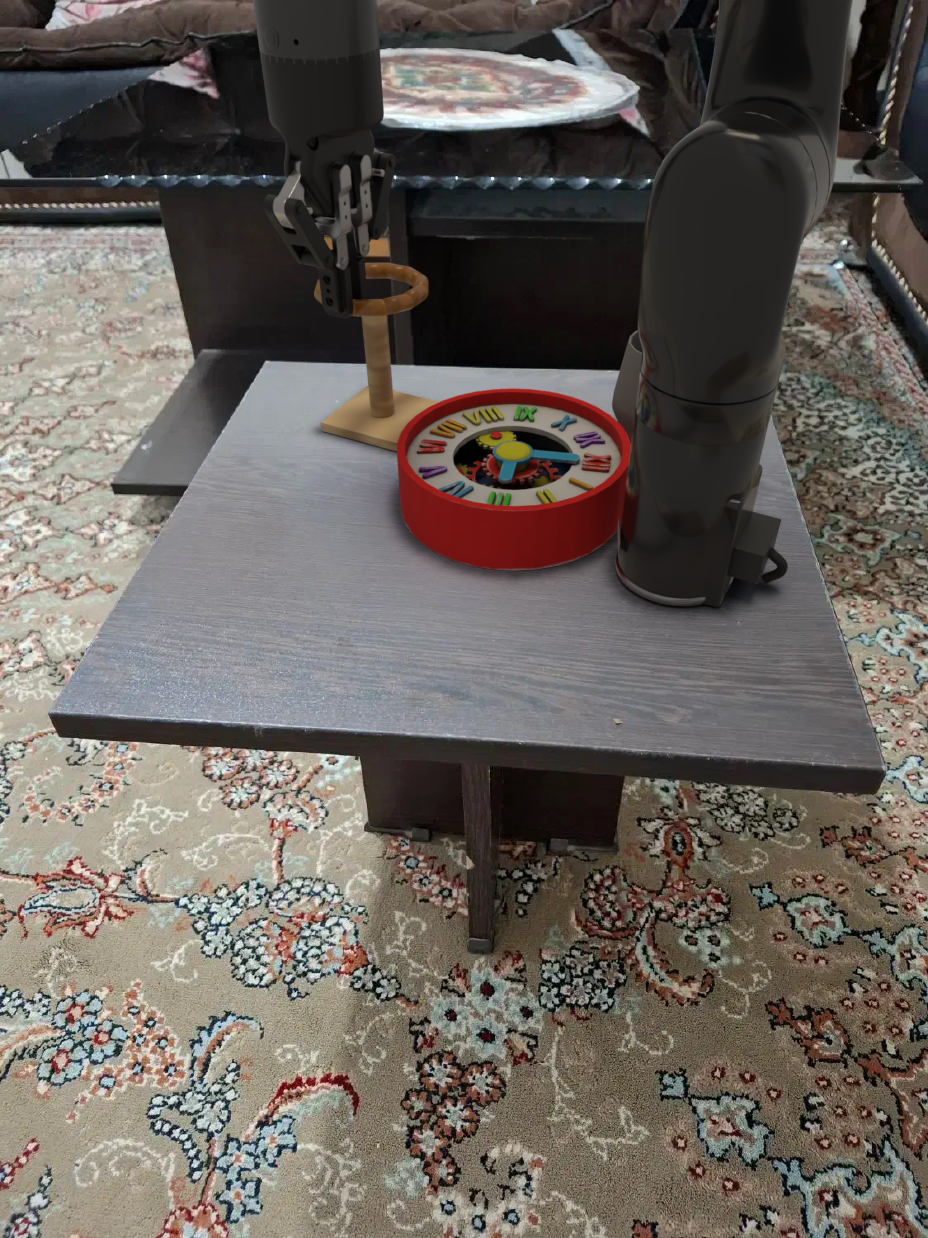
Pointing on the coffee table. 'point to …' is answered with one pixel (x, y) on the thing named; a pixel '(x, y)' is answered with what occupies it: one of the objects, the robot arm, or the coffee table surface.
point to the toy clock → (513, 478)
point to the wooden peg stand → (376, 396)
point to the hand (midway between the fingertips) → (346, 309)
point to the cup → (628, 385)
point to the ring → (391, 303)
